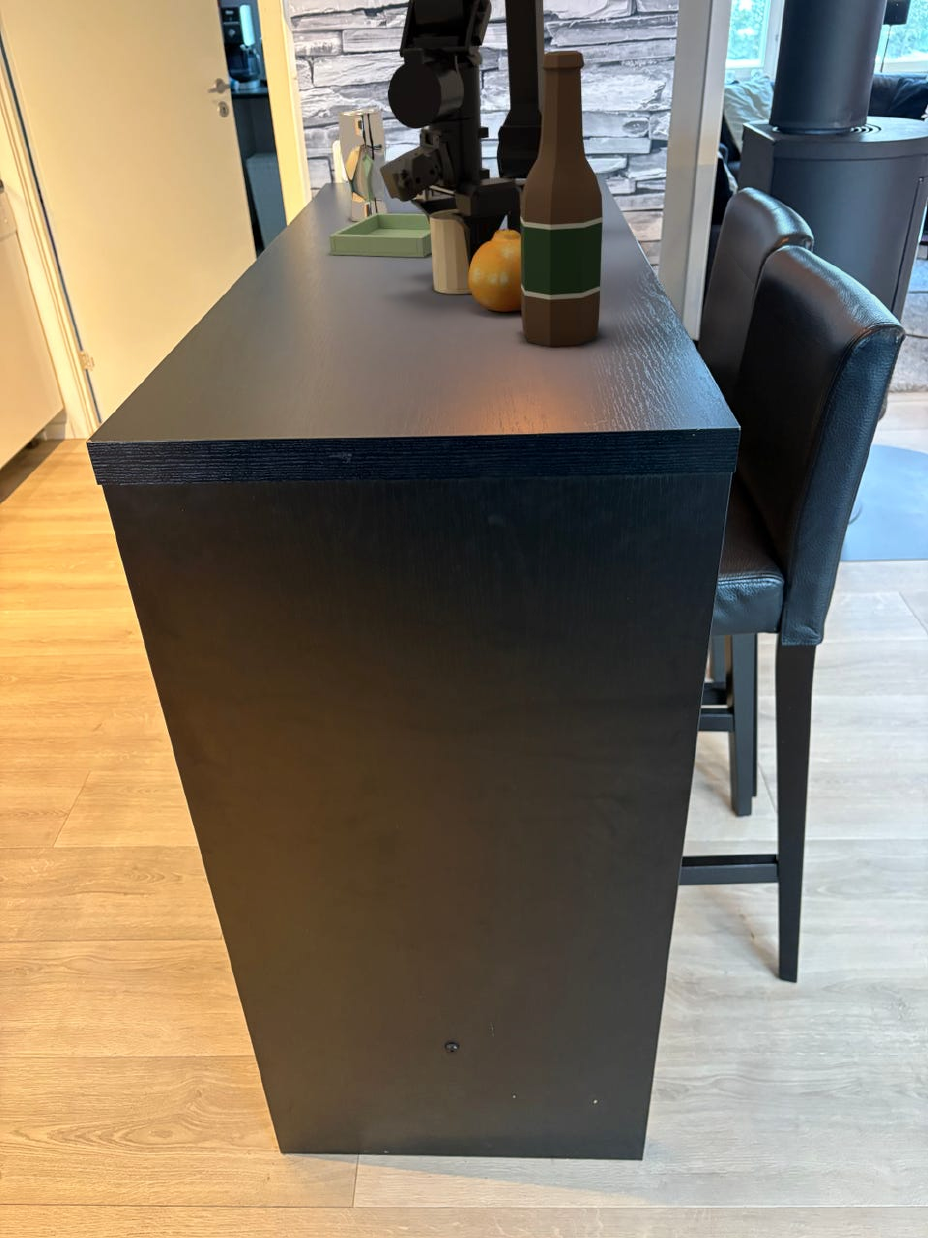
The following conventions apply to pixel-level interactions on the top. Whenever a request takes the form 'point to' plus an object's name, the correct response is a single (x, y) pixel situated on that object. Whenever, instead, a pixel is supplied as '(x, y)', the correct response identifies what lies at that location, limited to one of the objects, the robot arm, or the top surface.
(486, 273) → the fruit
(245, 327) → the top surface
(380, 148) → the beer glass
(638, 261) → the top surface
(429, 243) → the tray
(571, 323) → the beer bottle
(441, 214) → the cup
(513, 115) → the robot arm
